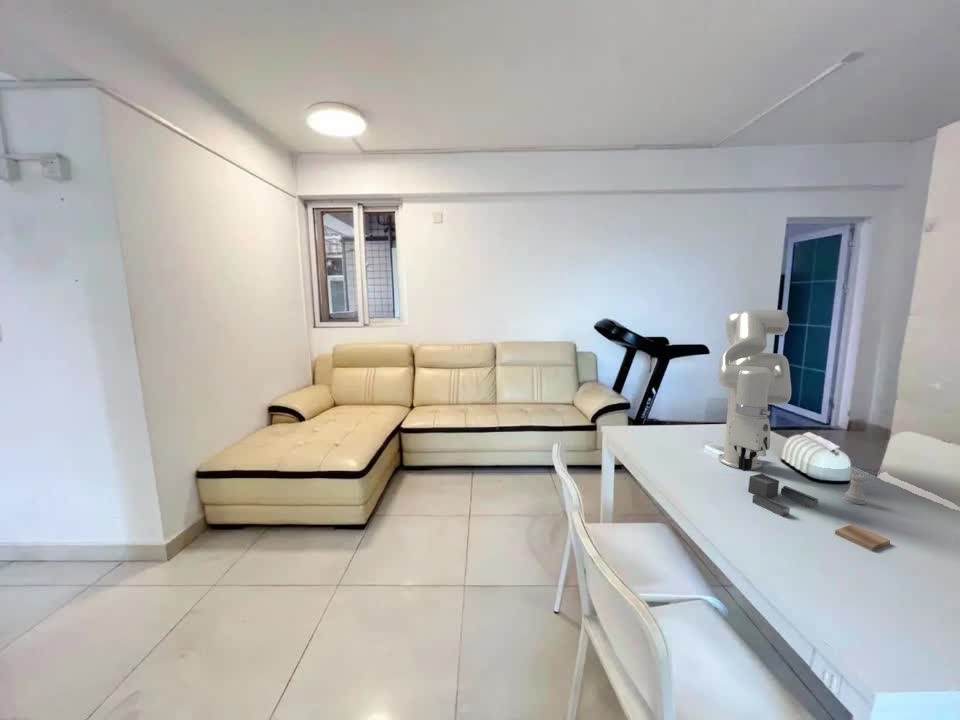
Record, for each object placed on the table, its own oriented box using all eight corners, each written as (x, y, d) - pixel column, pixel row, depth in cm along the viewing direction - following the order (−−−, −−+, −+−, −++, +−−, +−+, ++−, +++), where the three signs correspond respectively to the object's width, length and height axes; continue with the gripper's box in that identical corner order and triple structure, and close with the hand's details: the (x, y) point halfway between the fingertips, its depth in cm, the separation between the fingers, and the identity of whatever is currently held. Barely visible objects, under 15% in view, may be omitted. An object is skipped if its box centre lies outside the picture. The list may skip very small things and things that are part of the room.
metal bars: (786, 492, 114) (787, 485, 114) (817, 506, 107) (818, 498, 106) (752, 502, 109) (753, 494, 109) (782, 516, 102) (783, 508, 101)
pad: (852, 527, 96) (852, 524, 96) (889, 544, 90) (890, 540, 90) (834, 533, 94) (835, 530, 94) (871, 551, 88) (872, 547, 87)
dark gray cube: (759, 489, 117) (761, 473, 116) (777, 497, 112) (779, 480, 111) (748, 492, 115) (749, 476, 114) (765, 500, 110) (767, 483, 109)
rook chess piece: (861, 499, 110) (865, 472, 109) (868, 506, 106) (873, 479, 105) (840, 495, 112) (844, 469, 111) (847, 503, 108) (851, 476, 107)
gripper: (785, 415, 109) (779, 477, 111) (735, 404, 123) (729, 459, 125) (768, 418, 107) (761, 481, 109) (718, 405, 121) (713, 462, 123)
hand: (744, 469), depth 117 cm, fingers closed
